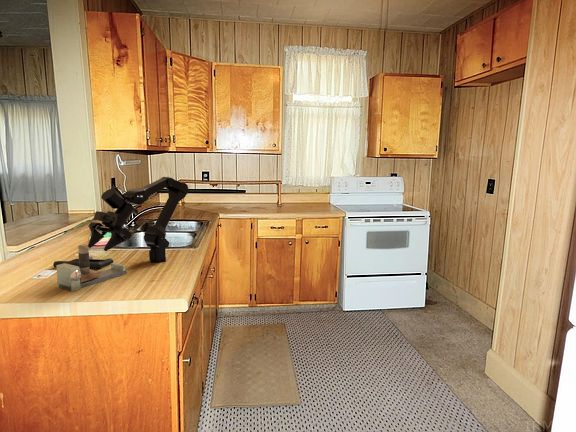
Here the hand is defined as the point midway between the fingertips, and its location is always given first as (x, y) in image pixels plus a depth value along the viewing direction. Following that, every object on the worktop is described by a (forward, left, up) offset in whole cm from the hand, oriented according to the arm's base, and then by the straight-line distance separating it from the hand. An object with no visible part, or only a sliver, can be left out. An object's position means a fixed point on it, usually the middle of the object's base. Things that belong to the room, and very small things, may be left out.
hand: (96, 249), depth 132 cm
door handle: (+8, -22, -12) cm, 26 cm away
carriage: (+4, +4, -10) cm, 11 cm away
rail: (+1, +1, -12) cm, 12 cm away
